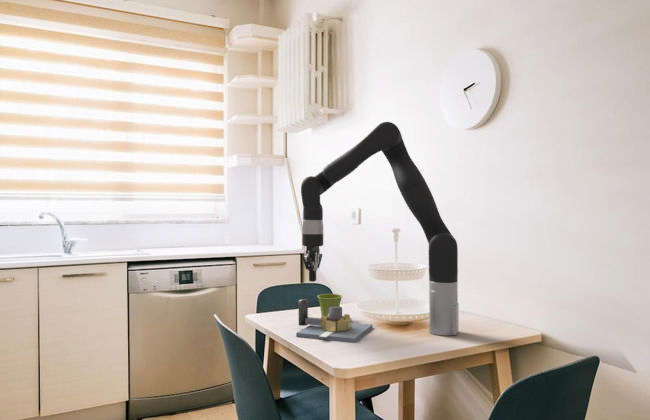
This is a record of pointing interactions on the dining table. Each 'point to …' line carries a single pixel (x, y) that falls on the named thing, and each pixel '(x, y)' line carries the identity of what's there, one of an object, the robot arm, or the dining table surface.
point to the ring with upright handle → (322, 319)
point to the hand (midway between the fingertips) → (312, 281)
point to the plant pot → (328, 302)
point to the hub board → (348, 335)
